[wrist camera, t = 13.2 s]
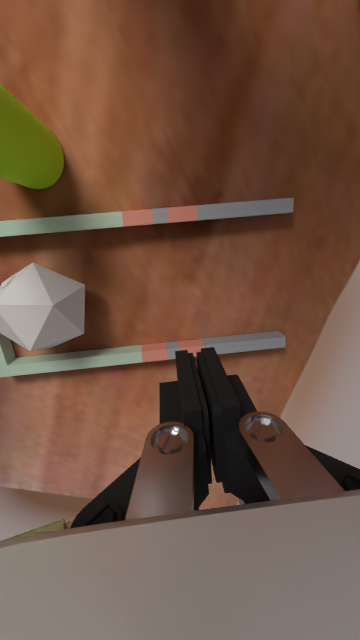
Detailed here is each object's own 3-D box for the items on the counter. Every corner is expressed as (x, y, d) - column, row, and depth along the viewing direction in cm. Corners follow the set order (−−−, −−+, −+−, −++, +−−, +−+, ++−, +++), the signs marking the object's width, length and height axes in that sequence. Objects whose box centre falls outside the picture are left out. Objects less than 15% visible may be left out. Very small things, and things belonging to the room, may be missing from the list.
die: (97, 264, 30) (11, 237, 22) (114, 336, 29) (29, 339, 20) (51, 290, 34) (-39, 276, 25) (64, 356, 32) (-27, 365, 23)
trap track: (-41, 225, 27) (-56, 225, 25) (285, 199, 29) (293, 197, 27) (7, 368, 33) (-2, 377, 31) (278, 340, 34) (285, 347, 32)
